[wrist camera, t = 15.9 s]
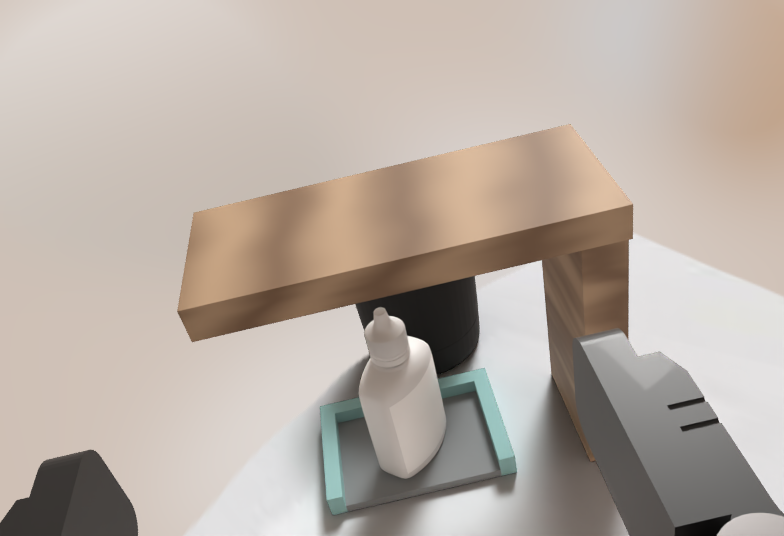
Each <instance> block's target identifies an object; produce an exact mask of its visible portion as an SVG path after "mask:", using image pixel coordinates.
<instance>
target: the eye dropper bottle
mask: <svg viewBox="0 0 784 536" xmlns="http://www.w3.org/2000/svg"><path fill="white" fill-rule="evenodd" d="M364 336H365V339H366V343H367V346H368V350H369V354H370V357H371V358H370V359H369V361H368V363H367V365H366V367H365V369H364V371H363V374H362V377H361V381H360V385H359V398H360V402H361V406H362V410H363V413H364V416H365V420H366V423H367V426H368V429H369V433H370V436H371V439H372V442H373V446H374V449H375V452H376V455H377V458H378V461H379V465H380V467H381V469H382V470H384V471H385V472H387V473H390V474H392V475H395V476H397V477H400V478H404V479H407V478H410V477H412V476H414V475H415V474H417V473H418V472H419V471H420V470H422V469H423V468H424V467H425V466H426V465H427V464H428V463H429V462H430V461H431V460H432V458H433V457H434V456H435V454H436V453H437V451H438V450H439V448H440V446H441V444H442V441H443V438H444V435H445V431H446V415H445V411H444V406H443V402H442V397H441V392H440V388H439V383H438V379H437V374H436V370H435V365H434V361H433V357H432V353H431V350H430V348H429V345H428V344H427V343H426V342H424V341H423V340H420V339H418V338H414V337H410V336H407V333H406V329H405V325H404V323H403V322H402V320H400V319H399V318H397V317H393V316H389V315H388V314H387V312H386V310H385V308H382V307H379V308H376V309H375V310H374V320H373V321H371V322H370V323H369V324H368V325H367V327H366V328H365V331H364Z"/></svg>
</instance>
